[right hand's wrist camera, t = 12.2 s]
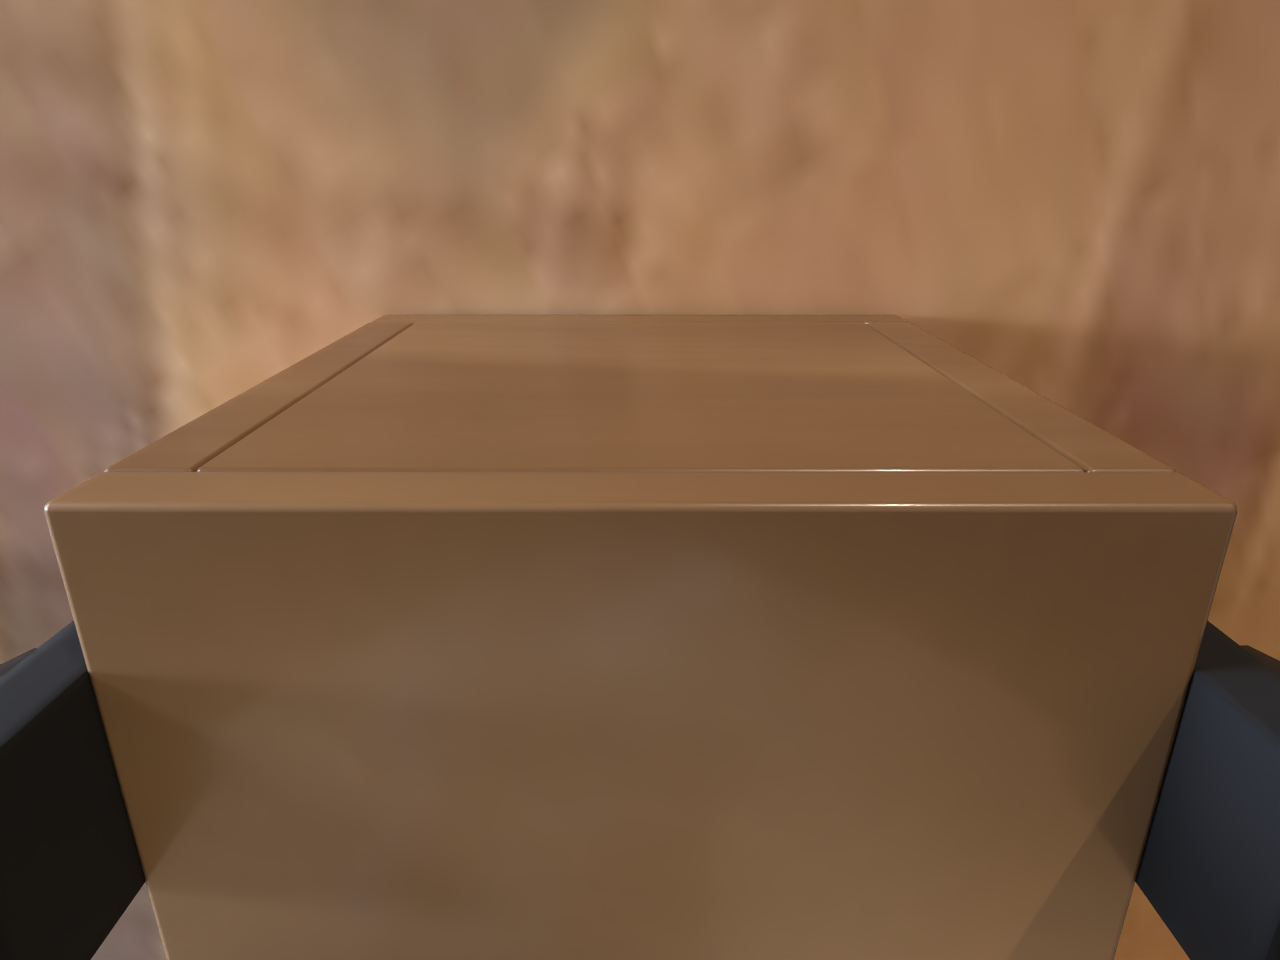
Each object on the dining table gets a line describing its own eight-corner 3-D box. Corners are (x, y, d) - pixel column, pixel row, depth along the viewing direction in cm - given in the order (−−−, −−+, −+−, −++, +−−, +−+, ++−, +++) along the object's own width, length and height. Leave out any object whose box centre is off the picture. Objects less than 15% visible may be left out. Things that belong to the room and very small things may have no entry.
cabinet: (822, 1005, 24) (947, 1571, 14) (456, 1005, 24) (332, 1572, 14) (898, 314, 17) (1244, 503, 7) (381, 314, 17) (37, 503, 7)
